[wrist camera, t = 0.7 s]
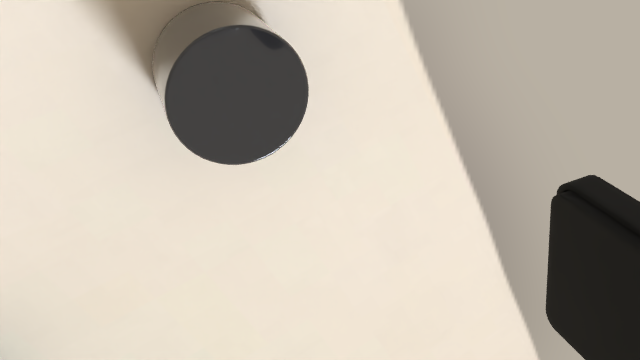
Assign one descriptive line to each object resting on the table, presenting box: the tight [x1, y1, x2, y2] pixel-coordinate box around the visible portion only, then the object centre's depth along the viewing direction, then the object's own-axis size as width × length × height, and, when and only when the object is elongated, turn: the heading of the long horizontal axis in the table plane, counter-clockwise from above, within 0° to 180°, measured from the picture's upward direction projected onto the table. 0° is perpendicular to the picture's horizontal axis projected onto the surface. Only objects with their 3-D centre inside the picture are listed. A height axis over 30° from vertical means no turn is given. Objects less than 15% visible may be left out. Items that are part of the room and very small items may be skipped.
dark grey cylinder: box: [152, 2, 309, 165], centre depth 20 cm, size 4×4×4 cm
